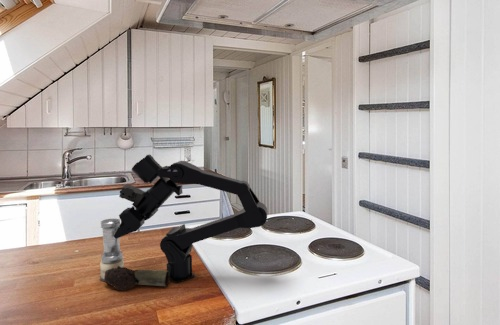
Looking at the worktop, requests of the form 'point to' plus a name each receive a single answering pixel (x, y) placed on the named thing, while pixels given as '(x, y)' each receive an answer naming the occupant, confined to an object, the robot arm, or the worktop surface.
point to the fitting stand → (110, 266)
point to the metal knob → (111, 242)
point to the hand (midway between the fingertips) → (121, 232)
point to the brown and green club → (135, 277)
